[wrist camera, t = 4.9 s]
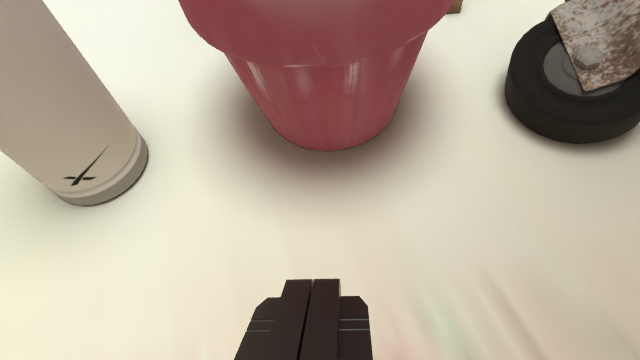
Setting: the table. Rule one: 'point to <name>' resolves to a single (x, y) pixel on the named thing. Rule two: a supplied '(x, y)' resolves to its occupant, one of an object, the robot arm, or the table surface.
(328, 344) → the robot arm
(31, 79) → the travel mug
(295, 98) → the plant pot
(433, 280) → the table surface
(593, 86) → the caster wheel
